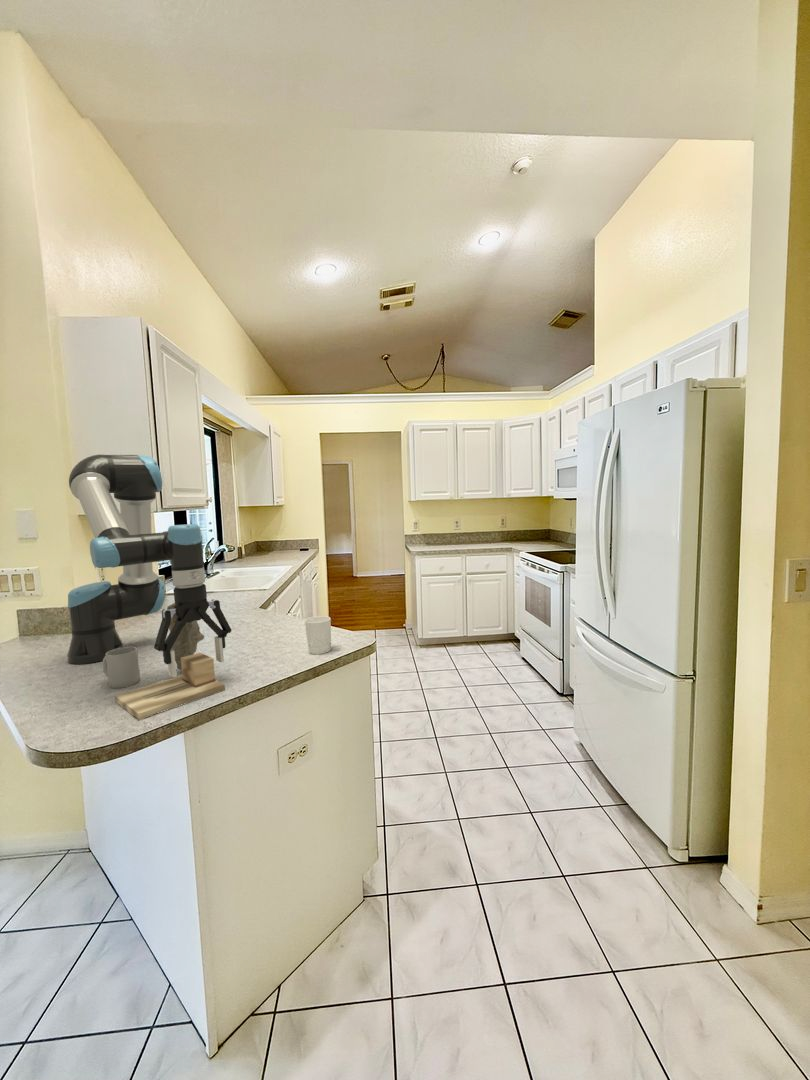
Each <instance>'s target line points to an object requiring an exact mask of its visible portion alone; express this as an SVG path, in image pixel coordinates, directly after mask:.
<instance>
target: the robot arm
mask: <svg viewBox="0 0 810 1080" xmlns="http://www.w3.org/2000/svg"><path fill="white" fill-rule="evenodd" d="M68 487H69V489H70V492H71V494H72V495H73V496H74V497H75V498H76V499H77V500H79V503H80V504H81V505H80V506H81V507H82V510H83V512H84V515H85V517H86V520H87V522H88V524H89V527H90V529H91V532H92V534H93V535H94V536H93V537H94V538H93V539H91V541H90V543H89V553H90V558H91V562H92V565H93V566H94V567H96V568H98V569H104V568H117V567H119V568H120V567H122V573H121V574H120V575H119V576H118V578H117V582H118V583H117V584H112V583H111V582H110V581H107V580H104V581H99V582H92V583H88V584H84V585H81V586H77V587H75V588H72V589H71V590H70V591H68V592H69V593H67V608H68V609H69V610H68V612H69V620H70V628H71V640H70V643H69V648H68V652H67V662H68V663H69V664H71V665H83V664H94V663H97V662H101V661H102V662H103V659H104V657H105V656H106V653H107V652H109V651H111V650H114V649H118V648H123V647H125V646H124V643H123V642H122V639H121V637H120V635H119V633H118V631H117V629H116V625H115V624H116V623H115V621H117V620H124V619H129V618H130V619H131V618H134V617H141V616H147V615H149V614H154V613H158V612H159V611H160V610H161V609H162V608H163V606H164V602H165V596H166V594H165V593H166V591H165V584H164V581H163V580H162V579H161V578H159V575H158V574H157V573H155V572H154V571H153V570H154V569H153V563H156V562H165V561H170V565H171V566H170V567H171V578H172V579H171V580H172V585H173V586H174V588H173V590H172V591H173V597H174V603H175V607H174V609H170V610H167V608H166V609H165V608H164V609H162V611H161V622H160V626H159V628H158V632H157V636H156V639H155V642H154V646H153V649H154V650H156V651H158V652H162V656H163V662H164V664H165V665H168V675H169V676H171V677H172V678H174V677H177V675H178V673H177V664H176V661H175V653H174V650H172V649H171V648H172V646H173V645H174V643H175V641H176V639H177V637H178V635H179V634H180V632H181V630H182V628H183V627H184V626H185V625H186V623H187V622H188V623H190V622H193V621H197V622H198V621H201V620H202V621H203V622H204V623H205V624H206V625H207V626H208V627H209V628H210V629H211V630H212V631H213V632H214V633H215V634H216V635H217V636H214V649H215V650H214V651H215V658H216V662H217V661H218V662H219V663H224V662H225V659H224V650H223V649H226V645H227V644H226V637H227V635H228V634H230V633H231V632H232V628H231V626H230V625H229V622H228V621H227V618H226V617H225V615H224V613H223V611H222V609H221V603H220V600H217V599H211V600H210V601H208V600H207V599H208V598H207V597H208V593H207V586H206V584H205V583H206V575H205V564H204V563H205V562H204V551H203V536H202V532H201V528H200V527H201V526H200V525H198V524H197V523H192V524H190V523H189V524H188V523H187V524H175V525H170V526H169V527H168V528H167V531H163V532H152V508H151V507H152V505H151V504H152V503H153V501H155V500H156V498H157V495H156V493H159V492H161V491H162V489H163V488H162V487H163V477H162V473H161V469H160V466H159V465H158V462H157V461H156V460H155V459H154V457H152V456H149V455H140V454H94V455H90V456H88V457H85V458H83V459H81V460H80V461H79V462H77V464H76V465H75V466H73V468H72V470H71V471H70V473H69V477H68ZM112 494H113V496H112ZM113 498H114V499H115V500H116V501H117V502H118V503H119V508H120V510H119V509H118V506H117V504H116V503H115V501H114V499H113ZM209 608H210V609H211V610H212V613H214V616H215V618H216V619H217V621H218V624H219V625H218V624H217V622H215V621H214V620H213V619H212V618H211V616H210V615H209V614H208V613H207V611H208V609H209ZM174 614H176V615H177V616H178V617H177V619H176V621H175V624H174V626H173V628H172V630H171V632H170V630H169V626H170V623H171V618H172V617H173V615H174ZM168 633H169V634H168Z"/></svg>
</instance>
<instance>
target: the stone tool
mask: <svg viewBox="0 0 810 1080" xmlns="http://www.w3.org/2000/svg"><path fill="white" fill-rule="evenodd" d="M174 607H175V602H173V603H172V604H170V605H168V606H167V608H166V610H170V609H174ZM177 617H178V616H177V615H176V614H174V615H173V617H172V618H171V623H170V626H169V630H168V631H169V633H170V632H171V630H172V628H173V626H174V624H175V621H176V619H177ZM204 639H205V635H204V634H203V633H201V631H200V626H199V623H198V621H193V622H190V623H188V622H187V623H186V625H185V626H184V627H183V628H182V630H181V632H180V634H179V635H178V637H177V639H176V641H175V643H174V645H173V646H172V648H171V649H172V650H174V653H175V663H176V669H178V671H182V668H181V658H182V657H185V656H189V655H193V654H196V652H197V648H198V644H199V642H200V641H203V640H204Z"/></svg>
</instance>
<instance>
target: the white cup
mask: <svg viewBox="0 0 810 1080" xmlns="http://www.w3.org/2000/svg"><path fill="white" fill-rule="evenodd" d="M331 622H332V620H331V616H327V615H326V616H325V615H318V616H316V615H315V616H311V617H308V618H306V619H305V620H304V626H305V633H306V634H305V635H306V643H307V646H308V647H307V648H308V652H309V653H310V654H313V655H322V654H326V653H329V652H330V651H331V649H332V643H331V642H332V623H331Z"/></svg>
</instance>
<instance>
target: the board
mask: <svg viewBox="0 0 810 1080" xmlns="http://www.w3.org/2000/svg"><path fill="white" fill-rule="evenodd" d="M225 690H226V685H225V683H224V682H221V681H219V680H218V679H216V681H215V682H212V683H208V684H205V685H202V686H199V687H196V688H195V687H193V686H192V685H190V684H188V683H186V682H184V681H183V680H182V674H181V675H178V676H176V677H171V678H167V679H165V680H161V681H159V682H155V683H152V684H149V685H145V686H141V687H139V688H136V689H132V690H130V691H126V692H123V693H119V694H116V695H114V698H115V703H116V704H118V705H119V706H121V708H123V709H125V710H126V711H127V713H129V714H131V715H132V716H133V717H134V716H135V717H134V718H136V719H137V720H138V721H141V719H142V720H144V719H147V718H150V717H152V716H151V715H153V714H155V713H158V712H161V711H164V710H167V709H170V708H172V709H174V708H173V707H175V708H177V707H176V706H178V707H180V706H179V705H181V704H184V703H186V704H188V703H187V702H189V703H191V702H190V701H192V702H194V701H193V700H195V701H197V700H196V699H198V700H199V698H201V699H203V698H205V696H206V697H209V696H212V695H215V694H216V692H217V693H220V692H223V691H225ZM219 691H220V692H219ZM214 693H215V694H214ZM211 694H212V695H211ZM208 695H209V696H208ZM202 697H203V698H202ZM184 705H185V704H184ZM181 706H182V705H181ZM170 710H171V709H170ZM167 711H168V710H167ZM164 712H165V711H164ZM161 713H162V712H161ZM158 714H159V713H158ZM149 716H150V717H149ZM153 716H154V715H153ZM146 717H147V718H146ZM143 718H144V719H143Z"/></svg>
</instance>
